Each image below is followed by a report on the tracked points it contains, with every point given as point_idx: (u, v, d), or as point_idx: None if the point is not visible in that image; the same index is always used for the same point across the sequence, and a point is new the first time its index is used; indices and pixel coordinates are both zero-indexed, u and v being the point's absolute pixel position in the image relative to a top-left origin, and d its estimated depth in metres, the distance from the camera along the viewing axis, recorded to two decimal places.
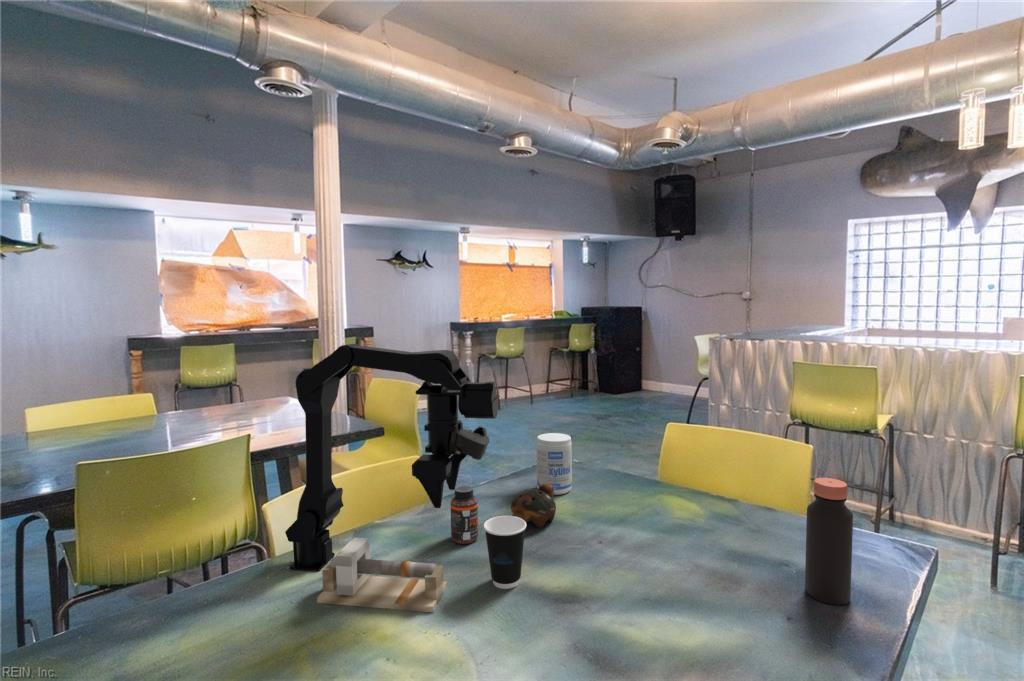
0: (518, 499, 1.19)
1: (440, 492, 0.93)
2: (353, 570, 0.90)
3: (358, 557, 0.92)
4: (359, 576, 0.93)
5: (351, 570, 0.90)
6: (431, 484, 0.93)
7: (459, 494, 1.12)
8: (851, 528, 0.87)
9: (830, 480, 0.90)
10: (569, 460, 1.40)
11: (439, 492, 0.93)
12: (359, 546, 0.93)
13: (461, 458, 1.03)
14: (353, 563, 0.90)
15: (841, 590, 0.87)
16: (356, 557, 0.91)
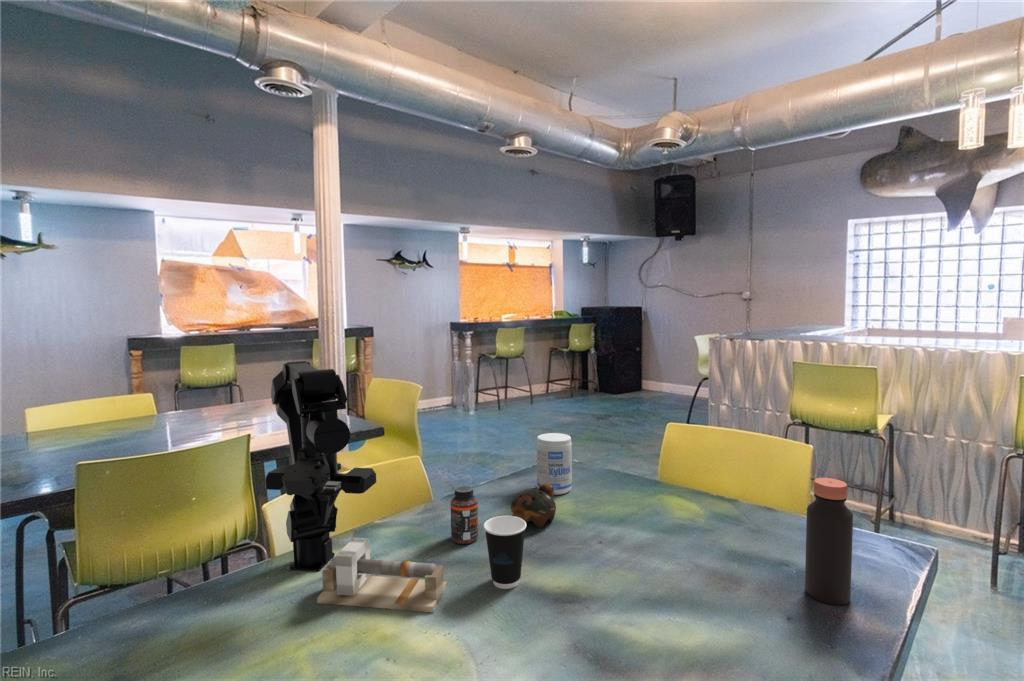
0: (518, 499, 1.19)
1: None
2: (353, 570, 0.90)
3: (358, 557, 0.92)
4: (359, 576, 0.93)
5: (351, 570, 0.90)
6: None
7: (459, 494, 1.12)
8: (851, 528, 0.87)
9: (830, 480, 0.90)
10: (569, 460, 1.40)
11: None
12: (359, 546, 0.93)
13: None
14: (353, 563, 0.90)
15: (841, 590, 0.87)
16: (356, 557, 0.91)
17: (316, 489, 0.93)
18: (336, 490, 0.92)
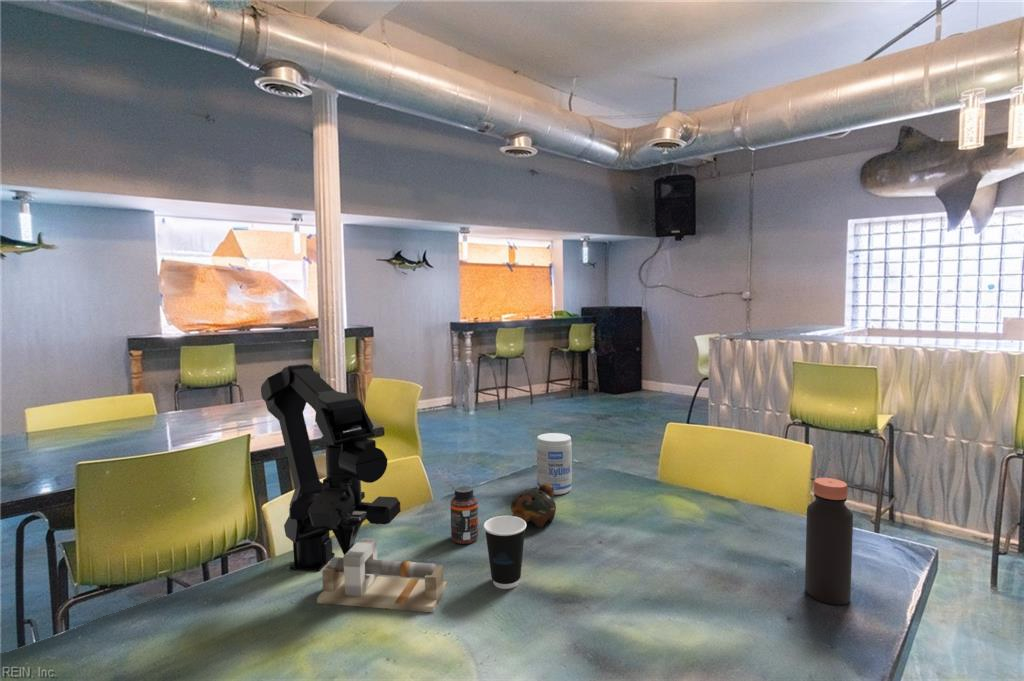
0: (518, 499, 1.19)
1: None
2: (361, 571, 0.90)
3: (366, 558, 0.92)
4: (367, 577, 0.93)
5: (359, 571, 0.90)
6: None
7: (459, 494, 1.12)
8: (851, 528, 0.87)
9: (830, 480, 0.89)
10: (569, 460, 1.40)
11: None
12: (367, 546, 0.93)
13: None
14: (361, 564, 0.90)
15: (841, 590, 0.87)
16: (364, 557, 0.91)
17: None
18: (360, 520, 0.91)
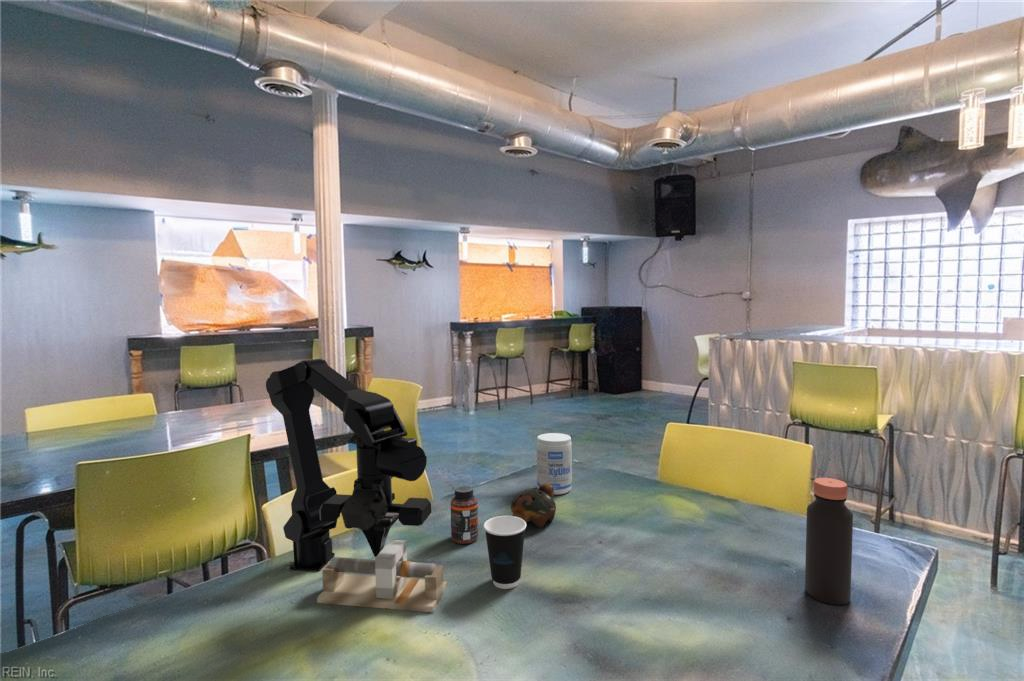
0: (518, 499, 1.19)
1: None
2: (393, 573, 0.89)
3: (397, 560, 0.91)
4: (398, 579, 0.92)
5: (391, 573, 0.89)
6: None
7: (459, 494, 1.12)
8: (851, 528, 0.87)
9: (830, 480, 0.90)
10: (569, 460, 1.40)
11: None
12: (397, 548, 0.92)
13: None
14: (393, 566, 0.89)
15: (841, 590, 0.87)
16: (395, 559, 0.90)
17: None
18: (392, 521, 0.90)
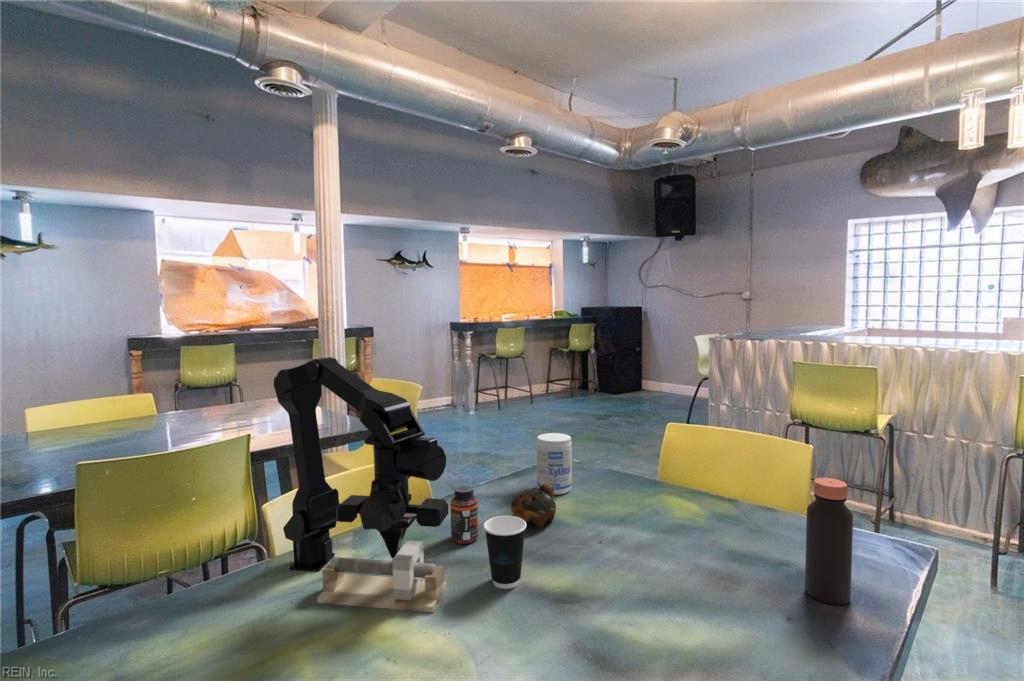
0: (518, 499, 1.19)
1: None
2: (410, 574, 0.88)
3: (414, 561, 0.90)
4: (415, 580, 0.91)
5: (408, 574, 0.88)
6: None
7: (459, 494, 1.12)
8: (851, 528, 0.87)
9: (830, 480, 0.90)
10: (569, 460, 1.40)
11: None
12: (414, 549, 0.92)
13: None
14: (410, 567, 0.89)
15: (841, 590, 0.87)
16: (412, 561, 0.89)
17: None
18: (409, 522, 0.90)
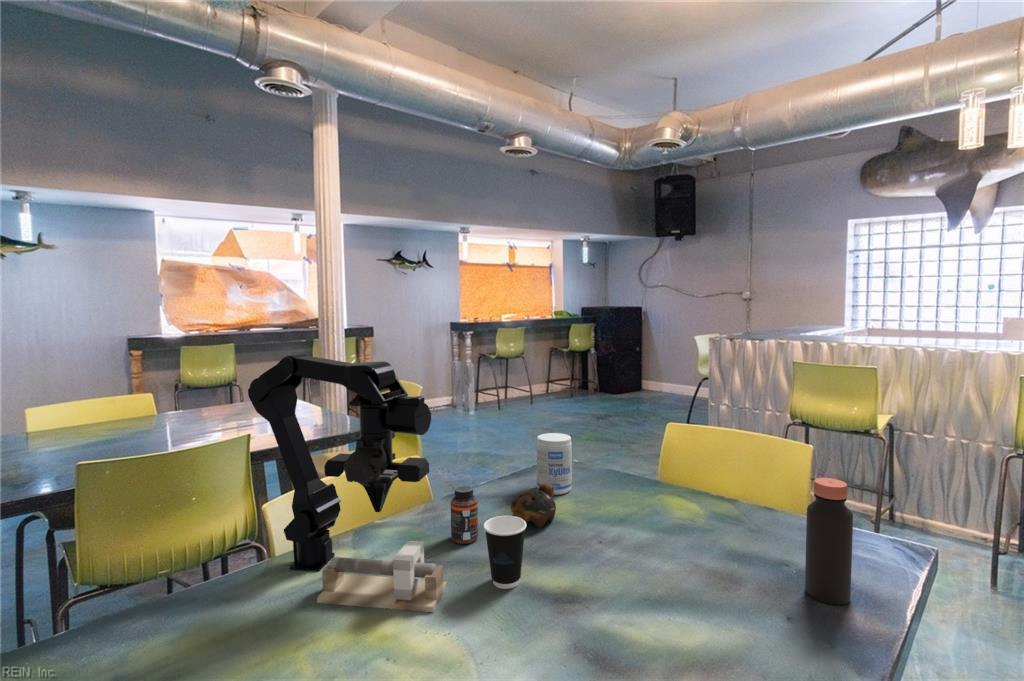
0: (518, 499, 1.19)
1: (368, 495, 0.97)
2: (411, 574, 0.88)
3: (415, 561, 0.90)
4: (415, 580, 0.91)
5: (409, 574, 0.88)
6: None
7: (459, 494, 1.12)
8: (851, 528, 0.87)
9: (830, 480, 0.89)
10: (569, 460, 1.40)
11: (369, 495, 0.97)
12: (415, 549, 0.92)
13: None
14: (411, 567, 0.89)
15: (841, 590, 0.87)
16: (413, 561, 0.89)
17: (372, 477, 0.97)
18: (392, 478, 0.95)
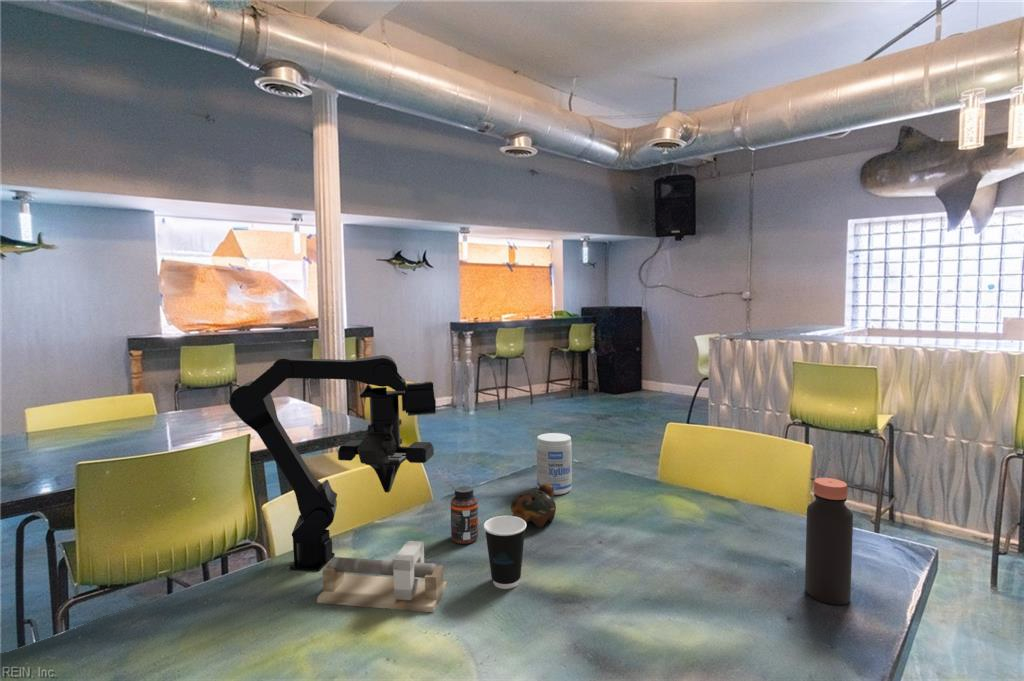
0: (518, 499, 1.19)
1: None
2: (411, 574, 0.88)
3: (415, 561, 0.90)
4: (415, 580, 0.91)
5: (409, 574, 0.88)
6: None
7: (459, 494, 1.12)
8: (851, 528, 0.87)
9: (830, 480, 0.90)
10: (569, 460, 1.40)
11: (379, 477, 1.07)
12: (415, 549, 0.92)
13: None
14: (411, 567, 0.89)
15: (841, 590, 0.87)
16: (413, 561, 0.89)
17: None
18: (400, 461, 1.05)
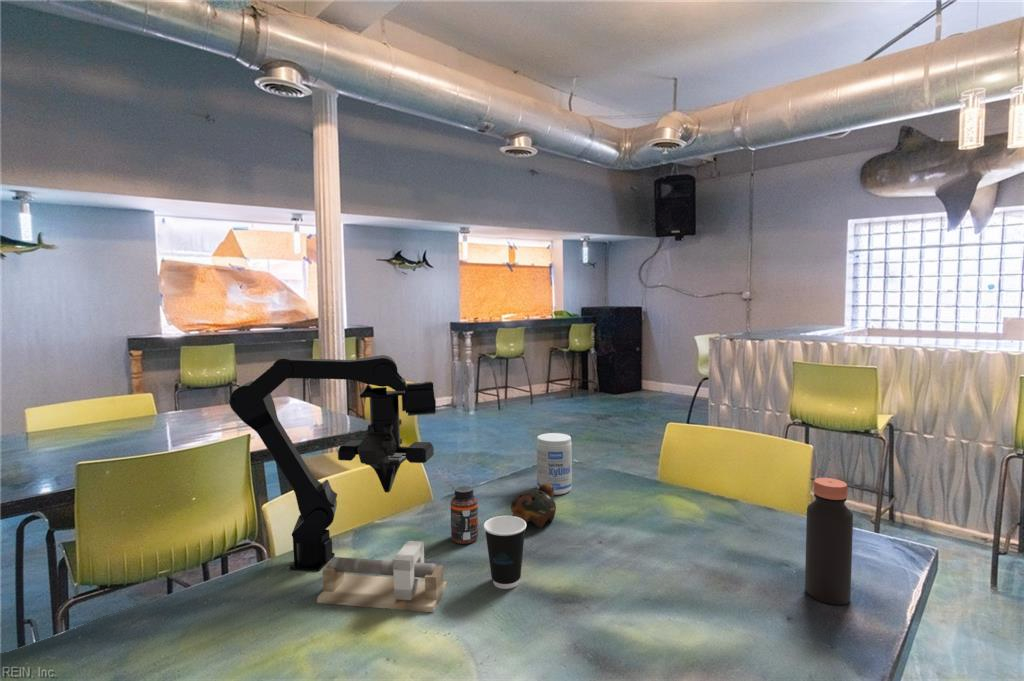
0: (518, 499, 1.19)
1: None
2: (411, 574, 0.88)
3: (415, 561, 0.90)
4: (415, 580, 0.91)
5: (409, 574, 0.88)
6: None
7: (459, 494, 1.12)
8: (851, 528, 0.87)
9: (830, 480, 0.90)
10: (569, 460, 1.40)
11: (379, 477, 1.07)
12: (415, 549, 0.92)
13: None
14: (411, 567, 0.89)
15: (841, 590, 0.87)
16: (413, 561, 0.89)
17: None
18: (400, 461, 1.05)
